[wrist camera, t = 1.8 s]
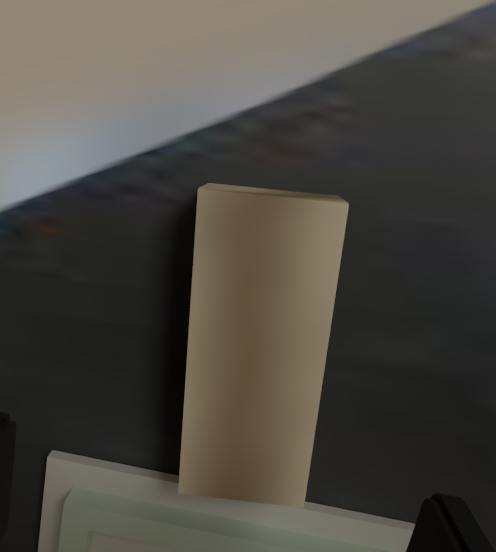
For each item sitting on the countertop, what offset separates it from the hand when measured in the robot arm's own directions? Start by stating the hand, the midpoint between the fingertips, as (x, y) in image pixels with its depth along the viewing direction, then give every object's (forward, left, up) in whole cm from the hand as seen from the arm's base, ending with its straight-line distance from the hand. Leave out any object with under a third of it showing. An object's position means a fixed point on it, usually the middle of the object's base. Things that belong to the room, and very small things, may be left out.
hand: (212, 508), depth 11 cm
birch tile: (-1, 0, -10) cm, 10 cm away
